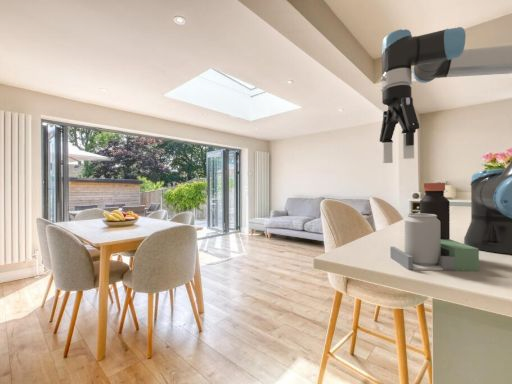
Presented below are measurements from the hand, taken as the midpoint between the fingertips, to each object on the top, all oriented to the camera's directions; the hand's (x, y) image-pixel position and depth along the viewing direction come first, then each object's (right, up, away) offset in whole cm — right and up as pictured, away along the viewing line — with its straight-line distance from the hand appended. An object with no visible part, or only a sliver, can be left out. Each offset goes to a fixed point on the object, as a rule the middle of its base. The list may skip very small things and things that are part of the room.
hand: (396, 161), depth 75 cm
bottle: (+9, -27, -3) cm, 28 cm away
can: (0, -27, -12) cm, 29 cm away
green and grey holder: (+2, -27, -12) cm, 30 cm away
